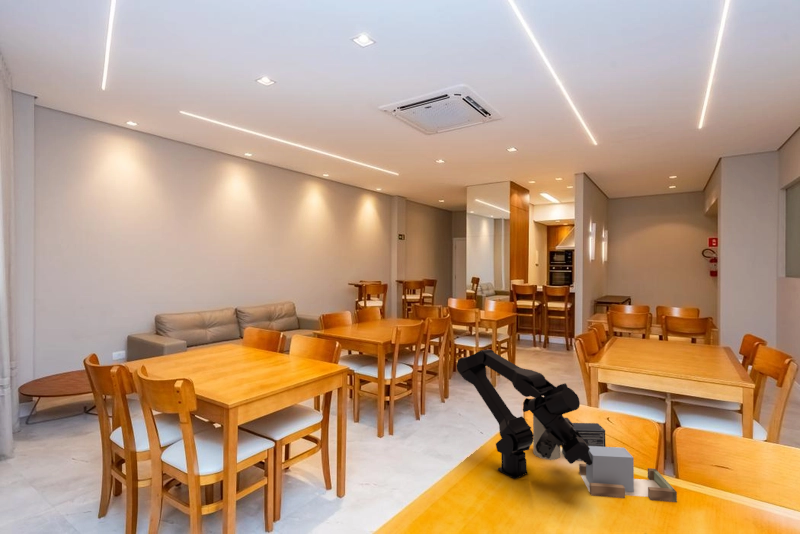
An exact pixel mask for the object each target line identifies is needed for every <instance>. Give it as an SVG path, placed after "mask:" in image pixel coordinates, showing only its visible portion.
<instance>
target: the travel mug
mask: <svg viewBox="0 0 800 534" xmlns="http://www.w3.org/2000/svg"><path fill="white" fill-rule="evenodd" d="M542 397H544V396H542ZM532 422H533V423H532V427H533V429H532V433H533V443H532V445H533V455H534V456H536V457H538V458H540V459H543V460H548V461H551V460H552V461H554V460H559V458H561V446H559V447H558V446H557V445H556V447H555V449H554V450H553V452H552V454H551V457H550V458H549V459H548V458H546V457H545V458H543V457H542V455H541V454H539V453H538V452H537V450H536V444H537V442H538V440H539V439H540V437H541V435H542V434H543V433H544V431H545V430H546V429H545V428H544V427H543V425H542V424H541V423H540V422H539V420H538V419H537V418H536V417H535V416H534V415H533V414H532Z"/></svg>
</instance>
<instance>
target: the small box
mask: <svg viewBox="0 0 800 534" xmlns="http://www.w3.org/2000/svg"><path fill="white" fill-rule="evenodd" d="M572 423H573V425H574V427H573V428H574V430H575V431H576V432H579V434H580V435H581V437H582V438H583V440H584V441H585V443H586V444H587V445H588V446H600V447H607V446H606V429H605V428H604V427H603V426H602V425H601V424H599V423H595V422H572ZM577 461H579V462H580V461H581V462H583V461H582V460H581V459H578V460H576V461H575V462H577Z"/></svg>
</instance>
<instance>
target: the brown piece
mask: <svg viewBox="0 0 800 534" xmlns="http://www.w3.org/2000/svg"><path fill="white" fill-rule="evenodd" d="M578 468H579V469H578V472H579V475H580V477H581V479H582V481H583V483H584V485H585V486H586V488H587V490H588V492H589V494H590V495H591V497H592V496H593V497H607V498H618V499H625V498H626V496H631V497H645V498H646V497H647V498H648V499H649V500H650V501H655V502H656V501H657V502H658V501H659V502H669V503H671V502H672V503H677V502H678V499H677V498H678V496H677V494H678V493H677V490H676V489H675V488H674V487H673V486H672V485H671V483H669V482H668V481H667V479H666V478H665V477H664V476H663V475H662V474H661V473H660V472H659V471H658V470H657V468H650V467H648V468H647V478H648V479H642V478H640V479H639V478H634V492H625V488H624V486H623V485H615V484H602V483H590V484H589V482H588V480H587V479H586V463H579V464H578Z"/></svg>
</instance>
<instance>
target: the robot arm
mask: <svg viewBox="0 0 800 534" xmlns="http://www.w3.org/2000/svg"><path fill="white" fill-rule="evenodd" d="M487 367H488V368H489V369H491V370H492V371H494V372H495V373H497V374H499V375H500V376H502V377H503V378H505V379H507V380H508V381H509V382H511V383H512V387H513V388H514V389H515V390H516V391H517V392H519V394H520V395H522V396H523V397H526V398H525V399H524V400H523V403H522V405H523V408H522V412H523V413H526V412H528V411H529V412H531V414H532V416H533V415H534V416H535V417H536V418H537V419H538V420H539V422H540V423H541V424H542V425H543V427H544V428H545V429H546V430H545V431H544V433H543V434H542V435H541V437H540V439H539V440H538V442H537V444H536V450H537V452H538V453H539V454H541V455H542V457H543V458H545V457H546V458H548V459H549V458H550V457H551V454H552V452H553V450H554V449H555V447H556V445H557V446H558V447H559V446H560V447H561V453H562V455H563V457H564V459H565V460H566V461H567V462H568V463H569V464H570V465H572V464H574V463H575V462H577V461H576V460H578V459H581V460H582V461H581V462H584V464H588V465H591V464H592V461H591V458H590V455H589V453H588V451H589V450H590V448H589V447H588V445H587V444H586V443H585V441H584V440H583V438H582V437H581V435H580V434H579V432H576V431H575V430H574V428H573V427H574V425H573V423H574V422H572V421H571V420H570V419H569V418H568V417H564V416H563V415H565V414H568V413H570V412H574V411H577V410H578V409H579V408H580V405H581V401H580V397H579V395H578V394H577V393H575V391H574V390H573V389H572V388H570V387H568V385H567V383H562V384H561V383H560V384H558V385H557V386H556V385H554V384H553V383H551V382H550V381H549V380H547V379H546V377H545V376H544V374H542V372H538V371H536V370H533V369H527V368H522V367H520V366H518V365H516V364H515V363H513V362H511V361H509V360H508V359H506V358H504V357H502V356H501V355H499V354H497V353H496V352H495V351H494V350H493V349H489V348H488V349H483V350H478V351H477V352H475V353H474V354H471V355H469V356H464V357H460V358H459V359H458V361H457V363H456V370H457V372H458V373H459V375H460V376H461V377H462V378H463V379H464V380H465V381H466V382H468V383H469V384H471V385H473V386H474V388H475V389H476V391H477V393H478V394H479V396H480V398H481V399H482V400H483V402H484V403H485V404H486V407H488V409H489V411H490V413H491V414H492V415H493V417H494V418H495V420H496V422H497V423H498V425H499V426H498V428H499V436H500V439H499V440H498V441H497V442H495V447H496V452H498V453H500V454H501V455H500V457H501V458H500V459H501V466H500V467H498V468H497V471H499V472H501V473H502V474H505V475H506V476H508V477H509V478H512V479H514V480H515V479H519V478H521V477H523V476H525V475H527V474H528V470H527V458H526V452H525V451H529V450H530V447H531V446H532V445H533V430H531V429H532V426H530V425H529V424H528V422H527V421H526V418H525V417H524V416H522V415H521V416H515V415H514V414H513V413H512V411H511V410H510V409H509V407H508V406H507V404H506V402H505V401H504V400H503V399H502V397H501V395H500V394H499V392H498V391H497V389H495V387H494V385H493V384H492V383H491V381H490V380H489V378H488V376H487ZM542 396H544V397H542ZM528 397H532V398H528Z"/></svg>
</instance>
